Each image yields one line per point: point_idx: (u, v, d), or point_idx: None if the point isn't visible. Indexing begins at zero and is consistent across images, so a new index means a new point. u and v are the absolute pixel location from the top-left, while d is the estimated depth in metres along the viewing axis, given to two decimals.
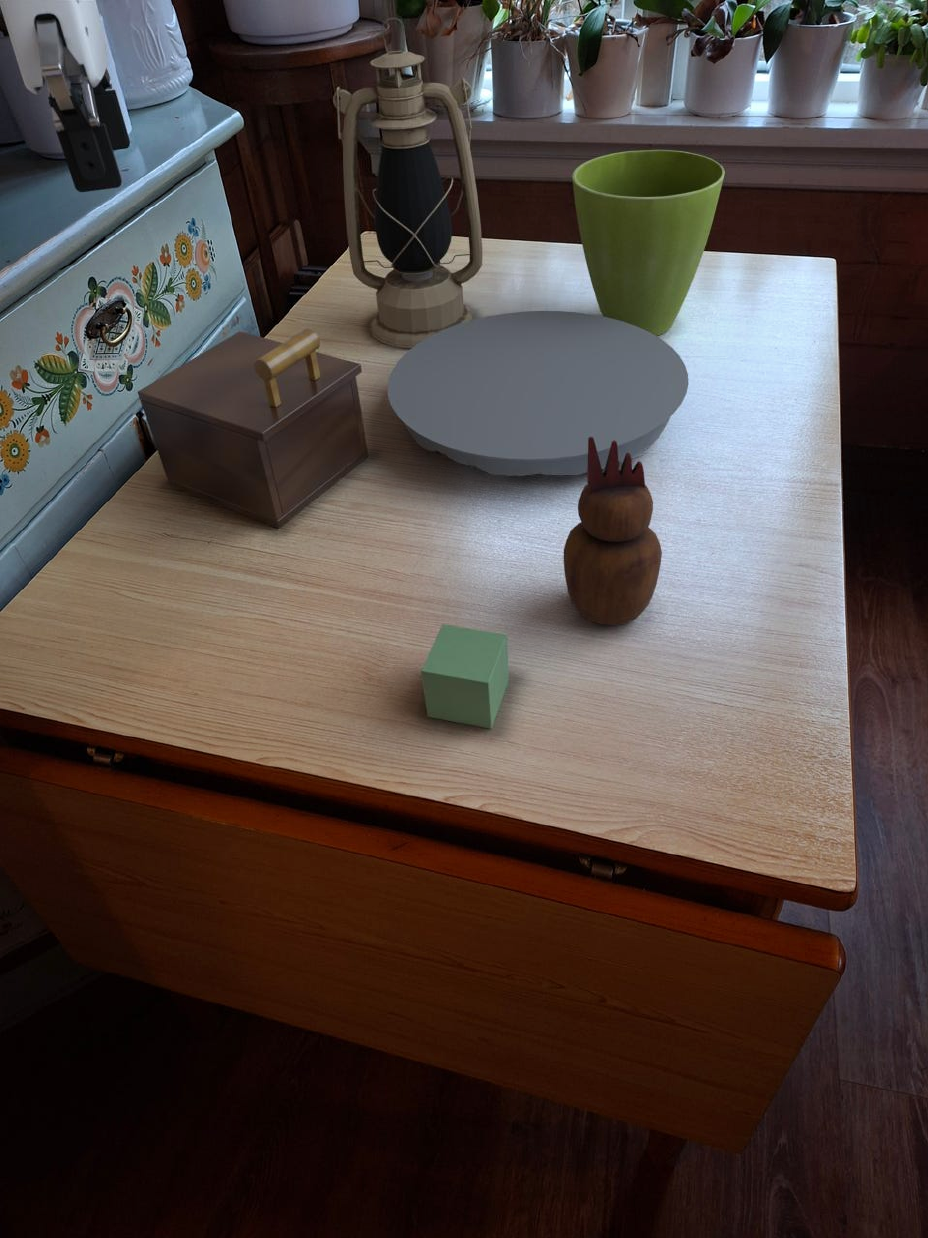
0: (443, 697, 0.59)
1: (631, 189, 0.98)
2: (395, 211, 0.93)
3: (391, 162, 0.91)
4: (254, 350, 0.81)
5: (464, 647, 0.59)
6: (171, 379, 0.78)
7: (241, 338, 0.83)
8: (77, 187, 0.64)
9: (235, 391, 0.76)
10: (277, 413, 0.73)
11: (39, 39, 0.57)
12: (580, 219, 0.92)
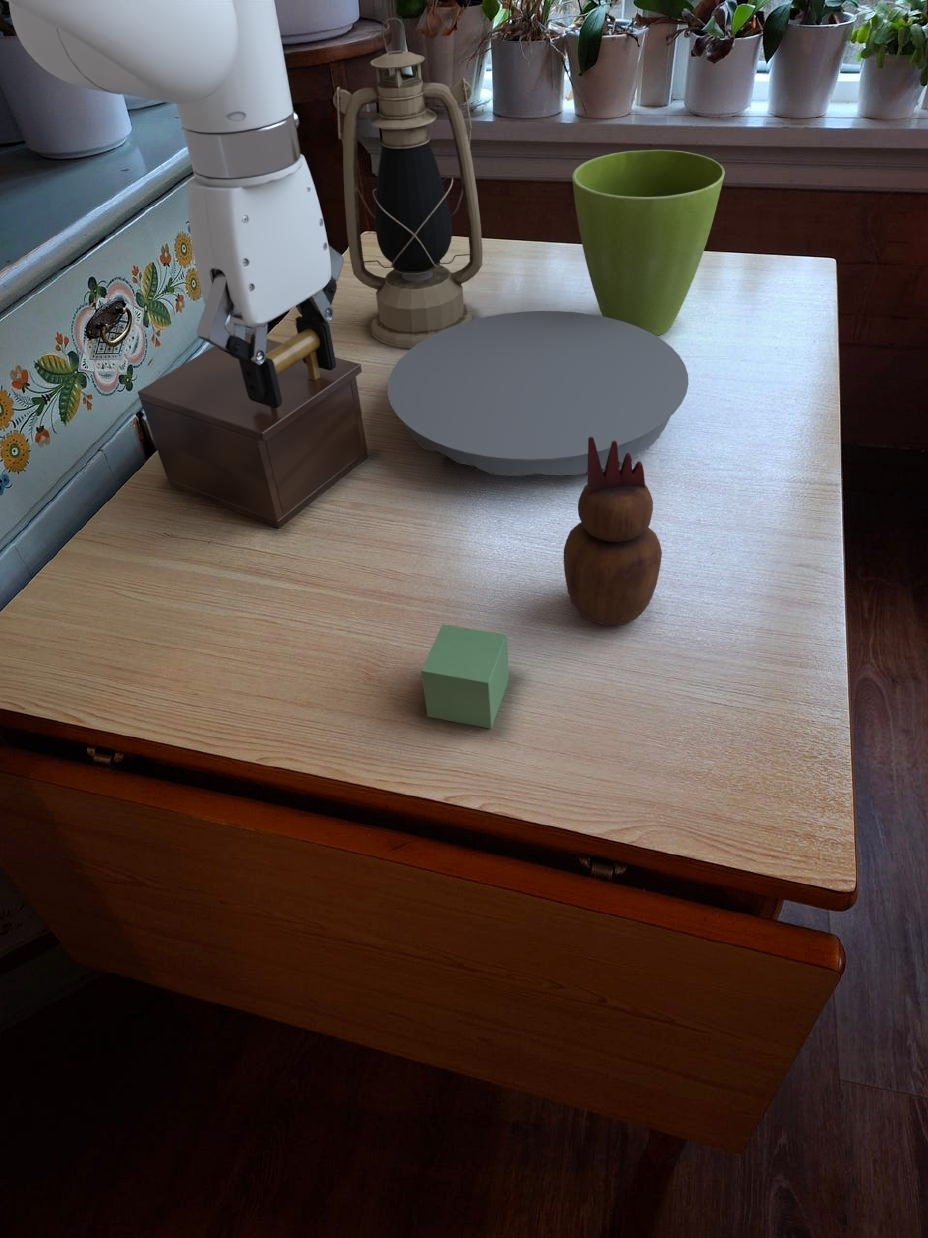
0: (443, 697, 0.59)
1: (631, 189, 0.98)
2: (395, 211, 0.93)
3: (391, 162, 0.91)
4: None
5: (464, 647, 0.59)
6: (171, 379, 0.78)
7: None
8: (249, 396, 0.73)
9: (235, 391, 0.76)
10: (277, 413, 0.73)
11: (207, 300, 0.65)
12: (580, 219, 0.92)
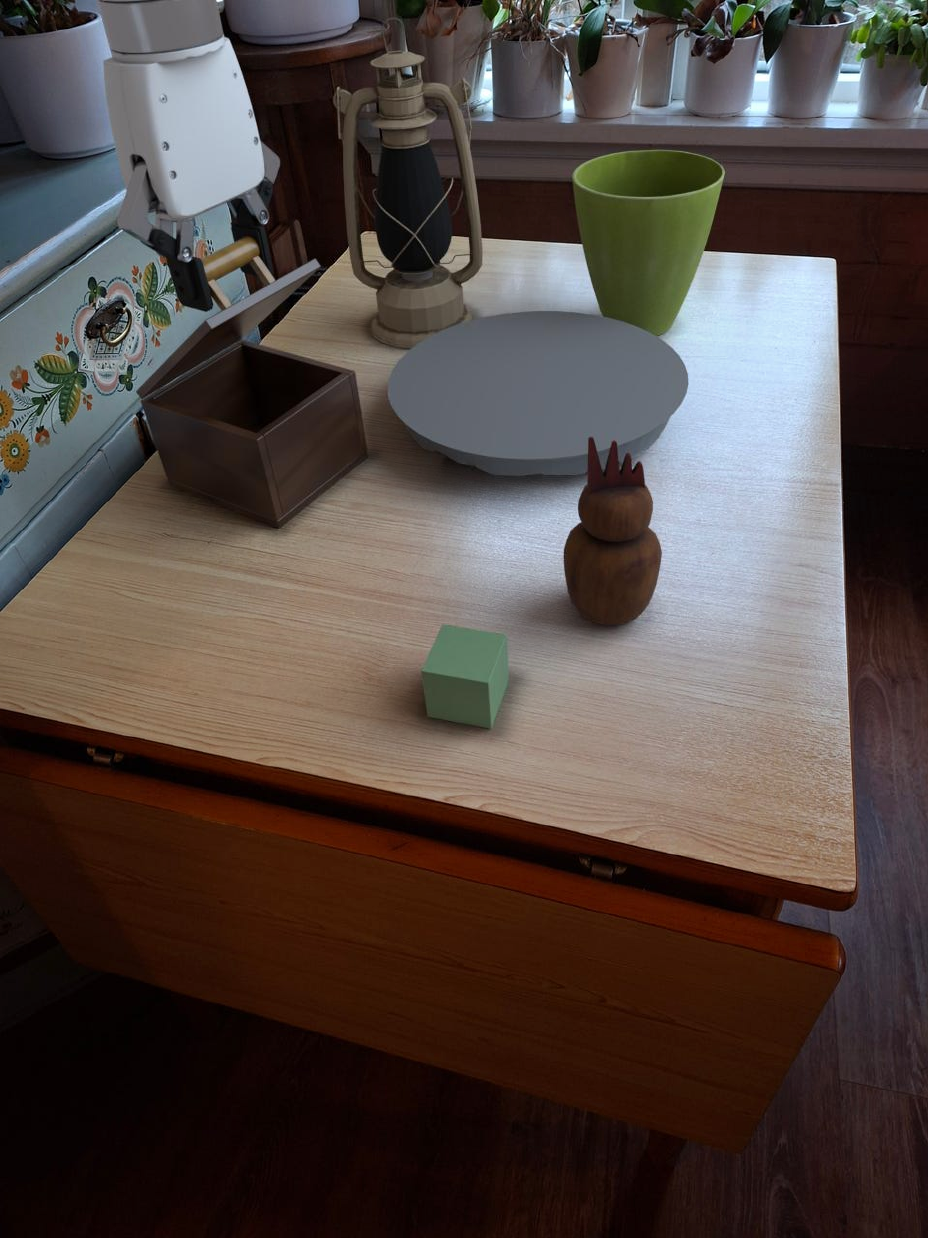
0: (443, 697, 0.59)
1: (631, 189, 0.98)
2: (395, 211, 0.93)
3: (391, 162, 0.91)
4: None
5: (464, 647, 0.59)
6: None
7: None
8: (180, 300, 0.70)
9: None
10: None
11: (128, 189, 0.62)
12: (580, 219, 0.92)
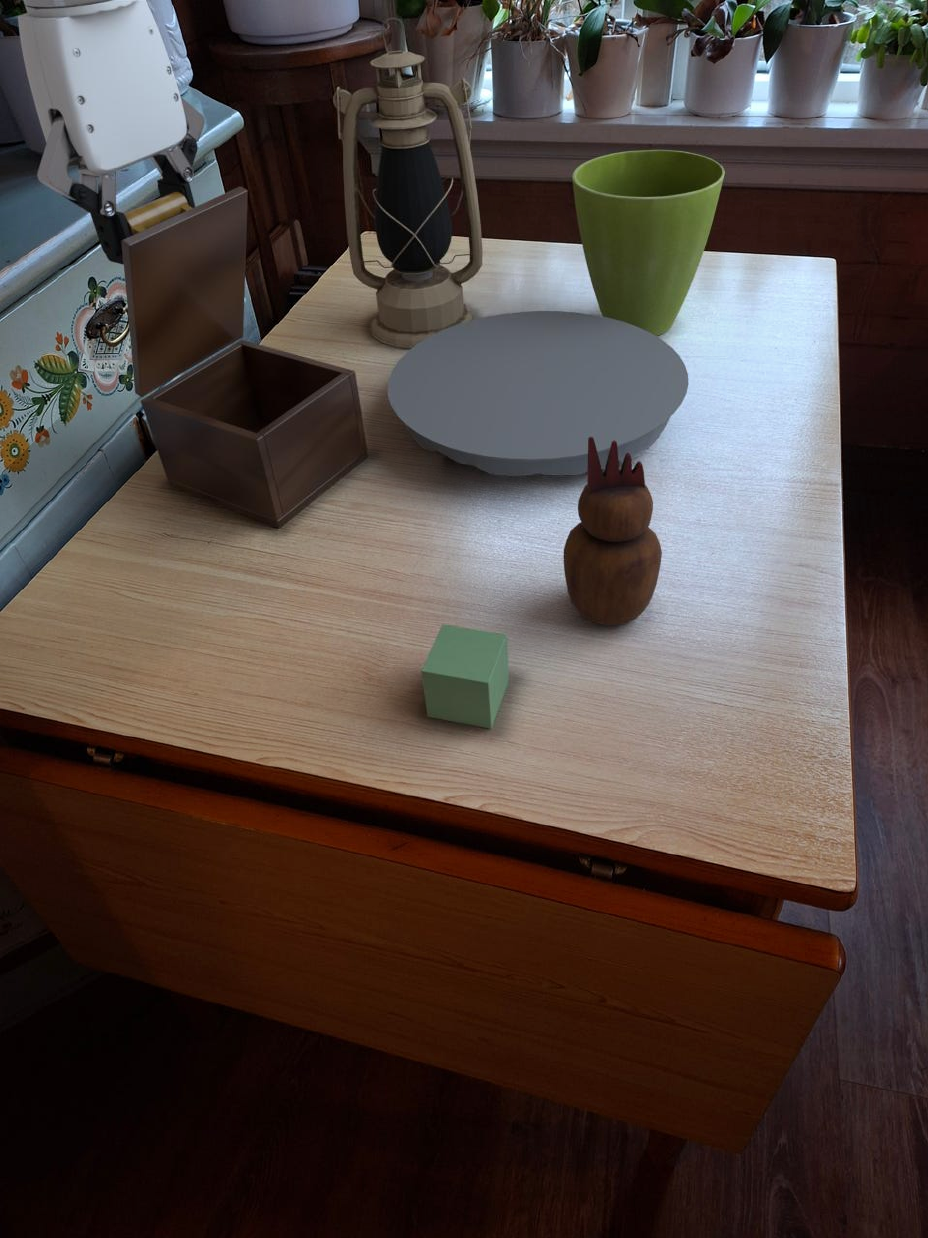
0: (443, 697, 0.59)
1: (631, 189, 0.98)
2: (395, 211, 0.93)
3: (391, 162, 0.91)
4: None
5: (464, 647, 0.59)
6: None
7: None
8: (107, 256, 0.72)
9: None
10: None
11: (47, 143, 0.64)
12: (580, 219, 0.92)
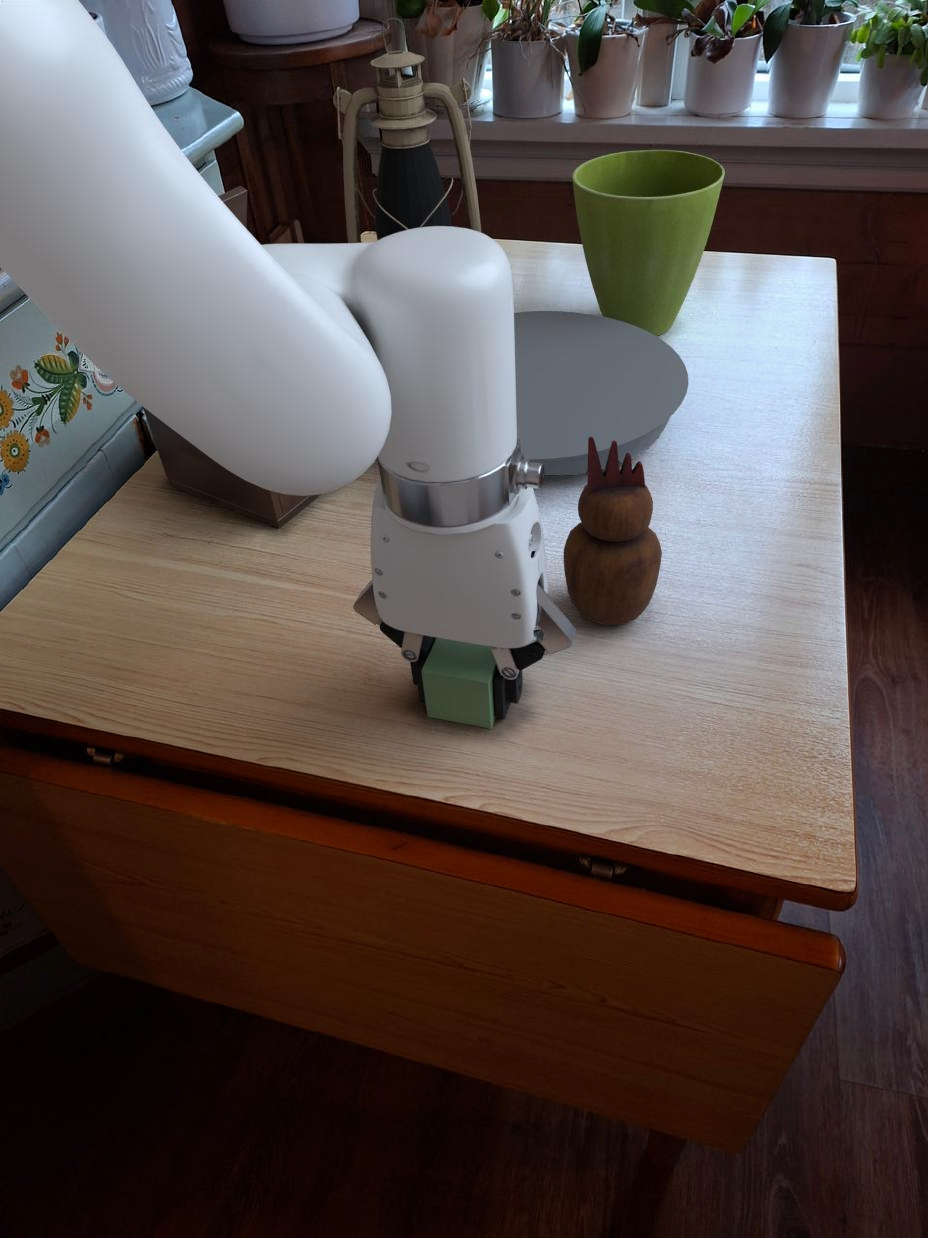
0: (443, 697, 0.59)
1: (631, 189, 0.98)
2: (395, 211, 0.93)
3: (391, 162, 0.91)
4: None
5: (464, 647, 0.59)
6: None
7: None
8: None
9: None
10: None
11: None
12: (580, 219, 0.92)
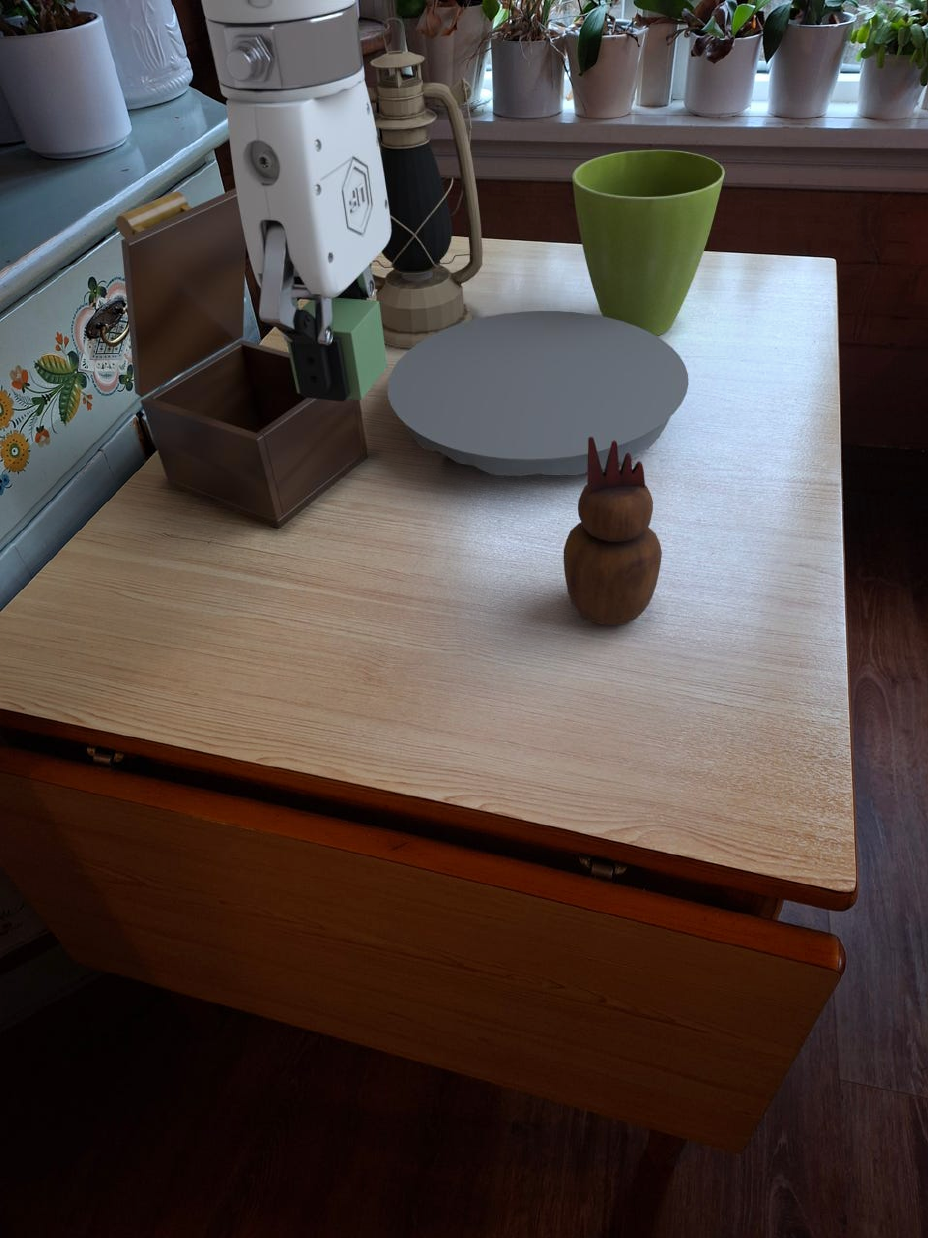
0: None
1: (631, 189, 0.98)
2: (395, 211, 0.93)
3: (391, 162, 0.91)
4: None
5: (339, 312, 0.56)
6: None
7: None
8: None
9: None
10: None
11: None
12: (580, 219, 0.92)
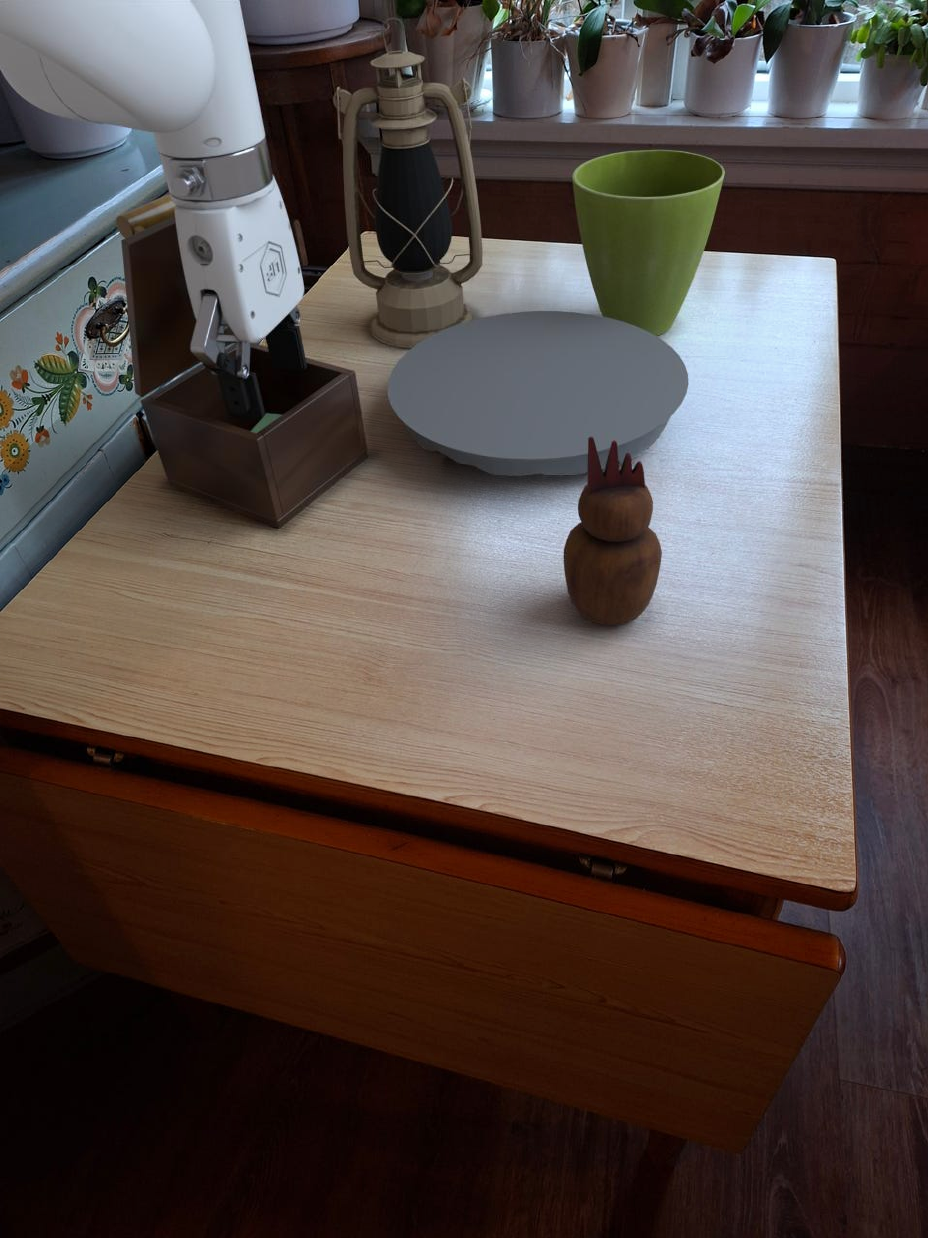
0: None
1: (631, 189, 0.98)
2: (395, 211, 0.93)
3: (391, 162, 0.91)
4: None
5: None
6: None
7: None
8: (305, 365, 0.79)
9: None
10: None
11: None
12: (580, 219, 0.92)
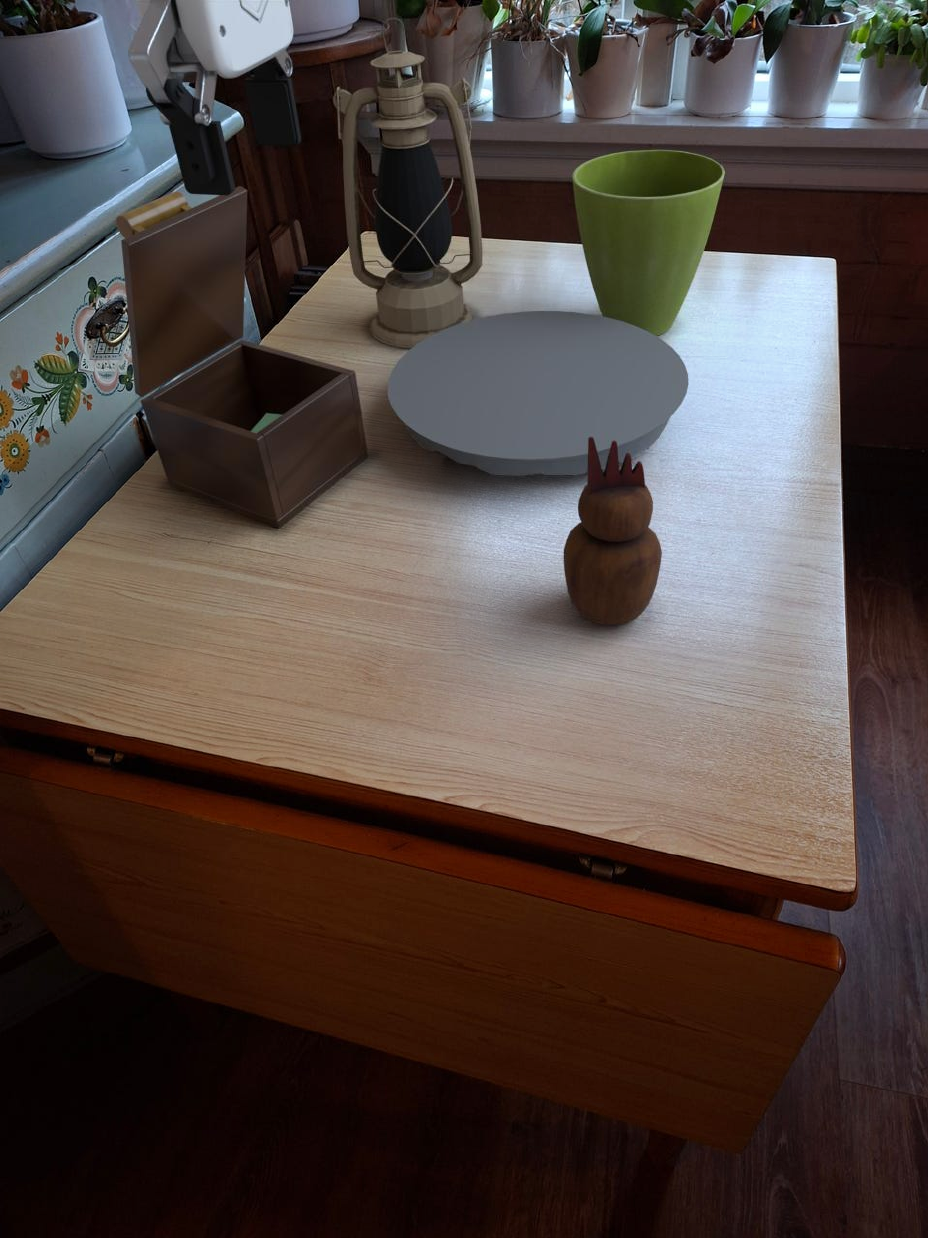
0: None
1: (631, 189, 0.98)
2: (395, 211, 0.93)
3: (391, 162, 0.91)
4: None
5: None
6: None
7: None
8: (299, 138, 0.62)
9: None
10: None
11: None
12: (580, 219, 0.92)
